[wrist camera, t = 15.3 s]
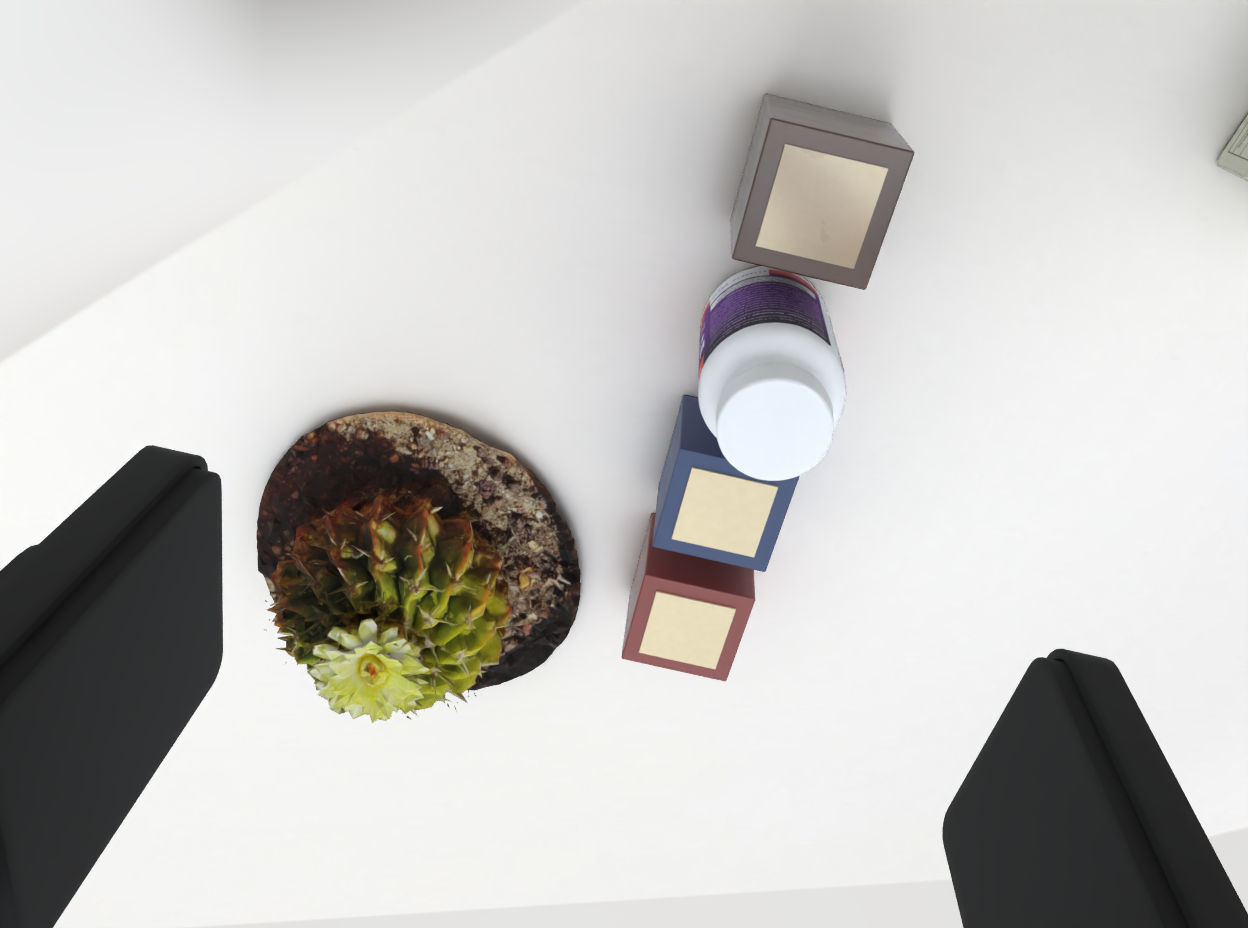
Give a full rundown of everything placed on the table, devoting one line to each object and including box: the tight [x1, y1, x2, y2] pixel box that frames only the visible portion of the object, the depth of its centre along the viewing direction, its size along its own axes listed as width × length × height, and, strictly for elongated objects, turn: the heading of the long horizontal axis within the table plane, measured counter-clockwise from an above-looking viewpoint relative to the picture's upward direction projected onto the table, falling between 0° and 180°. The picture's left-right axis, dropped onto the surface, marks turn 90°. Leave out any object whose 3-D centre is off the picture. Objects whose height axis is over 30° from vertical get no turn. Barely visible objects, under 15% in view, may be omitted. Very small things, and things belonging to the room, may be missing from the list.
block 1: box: [652, 395, 799, 572], centre depth 42 cm, size 5×5×5 cm
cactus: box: [257, 411, 581, 723], centre depth 44 cm, size 17×16×10 cm
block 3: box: [731, 94, 914, 290], centre depth 35 cm, size 5×5×5 cm
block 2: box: [622, 514, 755, 681], centre depth 45 cm, size 5×5×5 cm
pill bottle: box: [698, 266, 846, 481], centre depth 37 cm, size 5×5×10 cm
